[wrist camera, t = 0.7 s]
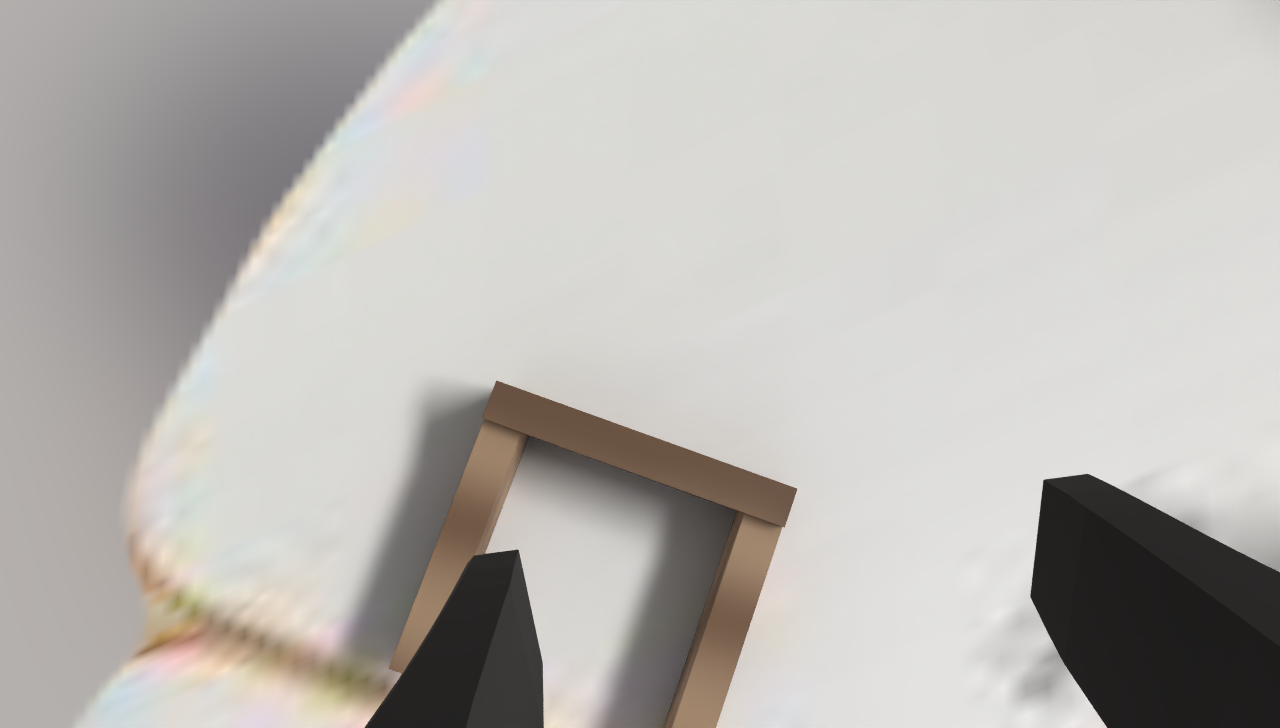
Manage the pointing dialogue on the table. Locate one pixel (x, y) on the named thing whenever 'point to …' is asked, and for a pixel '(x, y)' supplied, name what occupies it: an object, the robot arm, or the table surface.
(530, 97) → the table surface
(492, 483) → the pocket
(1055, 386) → the table surface
